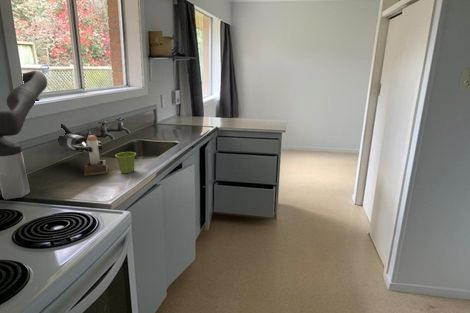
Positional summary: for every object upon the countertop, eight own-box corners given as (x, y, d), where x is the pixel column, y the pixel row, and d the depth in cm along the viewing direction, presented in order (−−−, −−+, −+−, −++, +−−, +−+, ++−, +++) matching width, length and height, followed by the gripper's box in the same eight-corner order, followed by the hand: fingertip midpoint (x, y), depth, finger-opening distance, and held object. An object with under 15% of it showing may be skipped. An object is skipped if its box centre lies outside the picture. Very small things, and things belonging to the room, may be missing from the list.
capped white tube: (100, 166, 152) (96, 135, 148) (90, 167, 151) (86, 136, 146) (100, 163, 156) (96, 133, 152) (90, 164, 154) (86, 134, 150)
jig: (107, 173, 151) (106, 165, 150) (84, 175, 148) (83, 167, 147) (107, 166, 160) (106, 159, 159) (85, 169, 157) (84, 161, 156)
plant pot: (116, 169, 156) (114, 152, 153) (136, 167, 160) (134, 150, 157) (117, 175, 148) (115, 158, 145) (138, 173, 151) (137, 155, 149)
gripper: (62, 138, 153) (80, 144, 143) (90, 133, 163) (109, 138, 153) (64, 153, 155) (82, 160, 145) (92, 147, 166) (111, 153, 156)
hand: (96, 148), depth 149 cm, fingers closed on capped white tube, 4 cm apart
